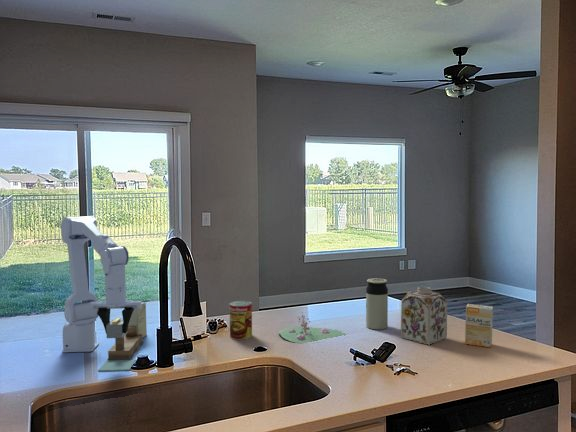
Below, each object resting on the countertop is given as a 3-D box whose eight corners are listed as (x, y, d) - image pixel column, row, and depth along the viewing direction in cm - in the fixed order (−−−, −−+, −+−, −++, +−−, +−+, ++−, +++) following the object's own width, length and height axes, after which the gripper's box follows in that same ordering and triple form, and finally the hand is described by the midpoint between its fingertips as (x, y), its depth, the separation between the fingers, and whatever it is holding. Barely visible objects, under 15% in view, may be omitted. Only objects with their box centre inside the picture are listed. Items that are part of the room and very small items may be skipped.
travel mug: (390, 326, 188) (390, 279, 187) (382, 331, 181) (383, 282, 180) (371, 323, 192) (371, 277, 191) (362, 328, 185) (362, 280, 184)
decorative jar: (428, 346, 164) (429, 292, 163) (399, 338, 173) (400, 287, 172) (448, 338, 172) (448, 287, 171) (419, 331, 181) (419, 282, 180)
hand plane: (130, 360, 153) (129, 337, 152) (107, 360, 152) (106, 338, 152) (143, 342, 170) (142, 322, 170) (122, 342, 170) (122, 322, 169)
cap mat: (98, 371, 143) (98, 370, 143) (106, 361, 151) (106, 360, 151) (129, 370, 144) (129, 369, 144) (136, 360, 152) (136, 359, 152)
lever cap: (106, 338, 144) (106, 322, 144) (112, 332, 150) (112, 317, 150) (122, 337, 145) (121, 321, 145) (127, 332, 151) (127, 316, 151)
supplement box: (464, 344, 165) (465, 306, 164) (466, 340, 170) (467, 303, 169) (491, 348, 161) (491, 308, 161) (492, 344, 166) (493, 305, 165)
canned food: (225, 338, 174) (225, 304, 173) (236, 332, 181) (236, 299, 181) (245, 340, 171) (245, 306, 171) (255, 334, 179) (255, 301, 178)
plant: (338, 325, 190) (338, 302, 190) (355, 342, 170) (355, 316, 170) (274, 329, 186) (274, 306, 185) (284, 347, 166) (283, 320, 165)
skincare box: (138, 340, 172) (137, 306, 172) (126, 339, 173) (126, 305, 173) (147, 335, 179) (146, 301, 178) (135, 334, 180) (135, 301, 179)
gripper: (85, 290, 142) (87, 337, 143) (137, 289, 143) (138, 335, 144) (93, 285, 149) (95, 330, 150) (142, 284, 150) (143, 328, 151)
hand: (116, 332), depth 147 cm, fingers closed on lever cap, 4 cm apart
